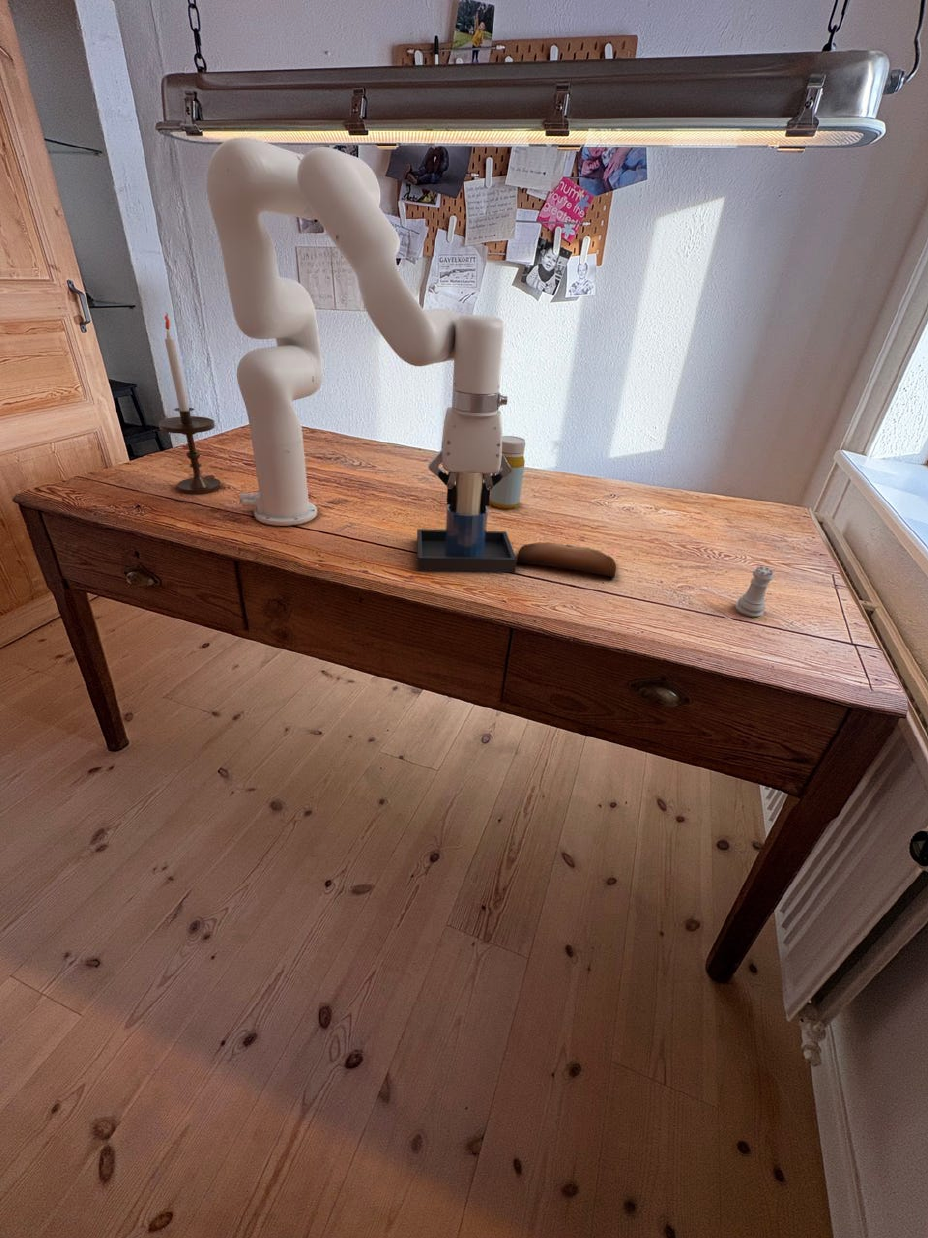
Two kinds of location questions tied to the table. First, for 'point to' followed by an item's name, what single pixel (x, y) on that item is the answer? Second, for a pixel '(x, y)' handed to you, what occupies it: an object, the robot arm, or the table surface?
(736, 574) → the table surface
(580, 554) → the sunglasses case
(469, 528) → the big cup
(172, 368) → the candlestick
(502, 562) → the tray
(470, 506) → the small cup
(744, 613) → the rook chess piece
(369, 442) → the table surface
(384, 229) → the robot arm
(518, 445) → the bottle
